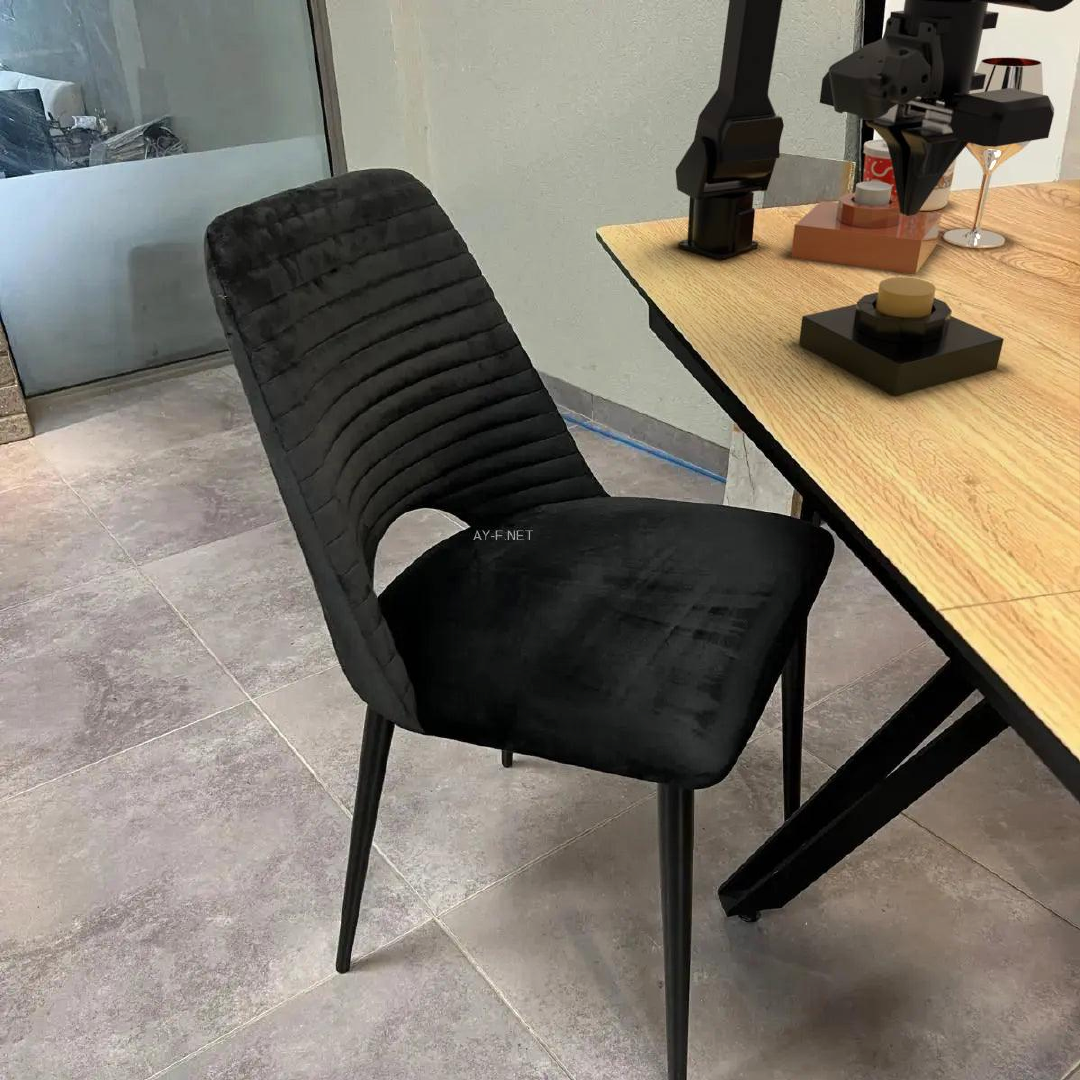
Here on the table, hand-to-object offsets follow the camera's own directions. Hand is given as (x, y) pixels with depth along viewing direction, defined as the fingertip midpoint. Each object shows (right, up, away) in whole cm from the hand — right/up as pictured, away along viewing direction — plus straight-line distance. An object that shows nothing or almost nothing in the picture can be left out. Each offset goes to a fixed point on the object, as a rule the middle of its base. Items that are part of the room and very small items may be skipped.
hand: (908, 214), depth 83 cm
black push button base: (+1, -11, +5) cm, 12 cm away
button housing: (+5, +5, +28) cm, 29 cm away
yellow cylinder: (0, -7, +2) cm, 8 cm away
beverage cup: (+9, +10, +36) cm, 38 cm away
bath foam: (+16, +15, +43) cm, 48 cm away
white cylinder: (+5, +9, +25) cm, 27 cm away
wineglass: (+18, +7, +31) cm, 36 cm away
